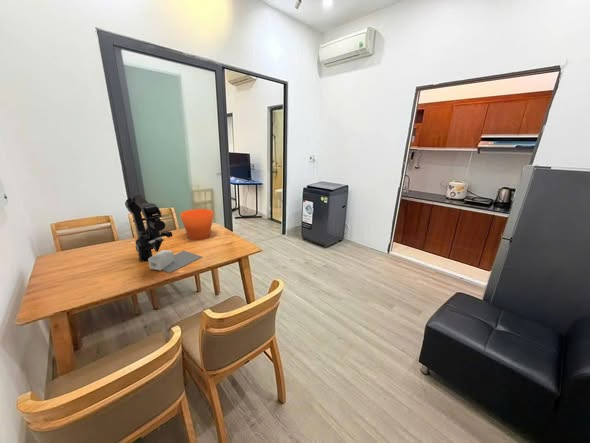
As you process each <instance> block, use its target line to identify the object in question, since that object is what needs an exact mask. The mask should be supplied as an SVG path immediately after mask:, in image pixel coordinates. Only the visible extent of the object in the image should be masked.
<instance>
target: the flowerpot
mask: <svg viewBox="0 0 590 443" xmlns="http://www.w3.org/2000/svg"><path fill="white" fill-rule="evenodd" d="M214 215H215V214H214V211H213V210H212V209H206V208H194V209H188V210H185V211H182V212H180V213H179V216H180V219H181V221H182V224H183V226H184V230H185V231H186V234H187V237H188V239H189V240H192V241H201V240H207V239H209V238H210V236H211V231H212V226H213V225H212V224H213V221H214V220H213V219H214Z"/></svg>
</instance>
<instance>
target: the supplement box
mask: <svg viewBox="0 0 590 443" xmlns="http://www.w3.org/2000/svg"><path fill="white" fill-rule="evenodd" d="M174 255H175V254H174V250H173V251H172V250H166V249H162V250H159V251H158V252H157V253H155V254H154V255H153V254H152V257H150V258H148V260H147V261H148V265H149V270H155V271H163V270H162V269H163V268H165V267H166V266H168V265H169V264H171V263H172V262H174Z"/></svg>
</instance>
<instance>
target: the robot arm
mask: <svg viewBox="0 0 590 443" xmlns="http://www.w3.org/2000/svg"><path fill="white" fill-rule="evenodd" d="M124 205H125V208H126V209H127V211H128V212H129V213H130V214H131V215H132V218H133V222H134V226H135V229H136V232H137V239H136V240H135V241H134V242H135V250H136V252H137V253H138V260H140V261H142V262H144V263H145V262H147V261H148V258H150V257H152V256H153V252H152V250H154V251H155V252H157V253H159V252H160V247H161V245H162V243H163V241H164V240H165V239H164V237H167V238H171V237H173V232H171V231H169V230H164V229H165V228H166V223H165V222H164V221H163V220H162V219H161V218H162V217H163V216H162V212H161V209H159V207H158V206H157V205H156V204H155V203H151V202H148V200H146V199H145V198H143V196H142V195H141V194H136V195H135V194H133V195H131V196H130V197H129V198H127V199H126V200H125V202H124ZM143 217H144V219H145V223H146V227H145V224H144V220H143Z"/></svg>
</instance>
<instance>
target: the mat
mask: <svg viewBox="0 0 590 443" xmlns="http://www.w3.org/2000/svg"><path fill="white" fill-rule="evenodd" d="M173 255H174V262H172V263H171V264H169V265H168V266H166V267H165V268H163V269H162V270H161V271H163V272H164V273H168V274H171V273H173V272H176V271H178V270H180V269H182V268H183V267H186V266H187V265H190V264H193V262H195V261H198V260H200V259H202V258H203V256H201V255H198V254H195V253H192V252H190V251H186V250H182V251H180V252H178V253H175V254H173Z"/></svg>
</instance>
